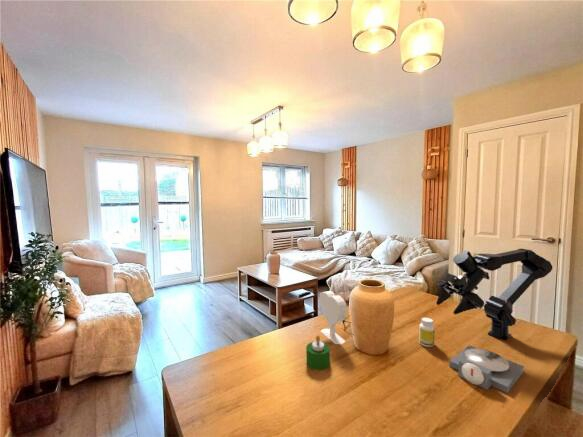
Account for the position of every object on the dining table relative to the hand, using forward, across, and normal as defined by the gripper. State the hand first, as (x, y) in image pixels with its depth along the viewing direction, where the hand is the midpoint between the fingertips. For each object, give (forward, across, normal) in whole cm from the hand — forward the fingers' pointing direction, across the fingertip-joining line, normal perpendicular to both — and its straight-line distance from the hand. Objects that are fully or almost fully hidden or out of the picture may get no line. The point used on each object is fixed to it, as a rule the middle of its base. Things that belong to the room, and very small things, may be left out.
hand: (445, 308), depth 106 cm
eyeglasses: (+28, -19, -8) cm, 35 cm away
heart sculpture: (+40, -13, -20) cm, 46 cm away
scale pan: (+7, +18, +8) cm, 21 cm away
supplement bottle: (+15, 0, +4) cm, 16 cm away
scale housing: (+10, +19, +9) cm, 23 cm away
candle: (+47, +4, -28) cm, 55 cm away
